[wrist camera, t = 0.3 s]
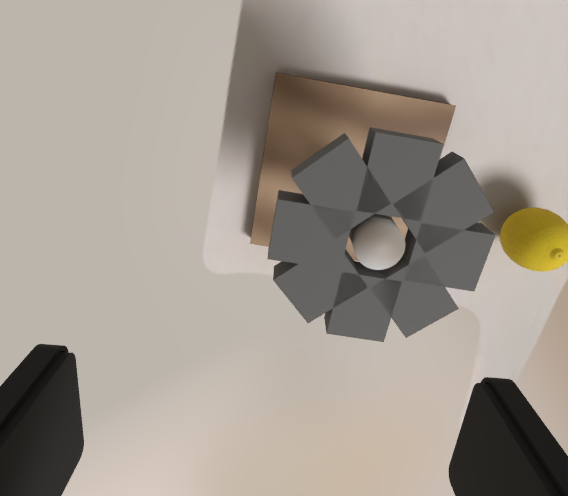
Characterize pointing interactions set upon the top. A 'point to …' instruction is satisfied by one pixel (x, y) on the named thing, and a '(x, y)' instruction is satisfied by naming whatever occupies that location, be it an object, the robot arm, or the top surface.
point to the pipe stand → (326, 128)
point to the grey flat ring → (385, 201)
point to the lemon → (535, 239)
